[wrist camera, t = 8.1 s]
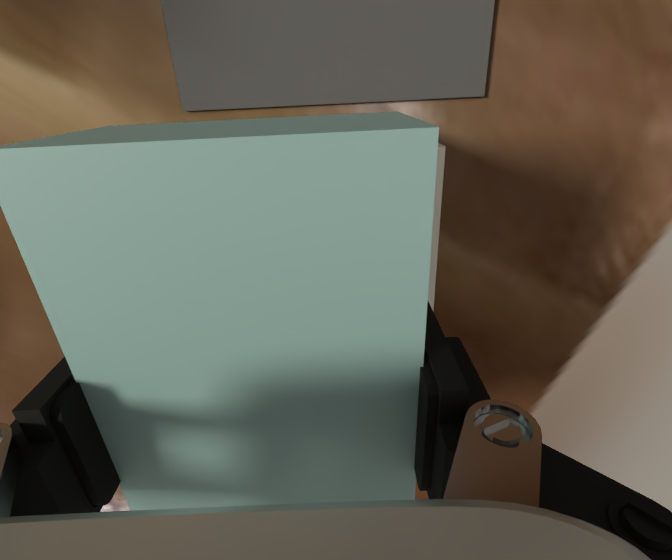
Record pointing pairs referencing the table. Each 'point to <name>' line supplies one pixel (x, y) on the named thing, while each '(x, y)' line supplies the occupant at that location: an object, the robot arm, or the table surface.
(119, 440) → the teal rectangular block
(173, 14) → the mat
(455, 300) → the table surface
